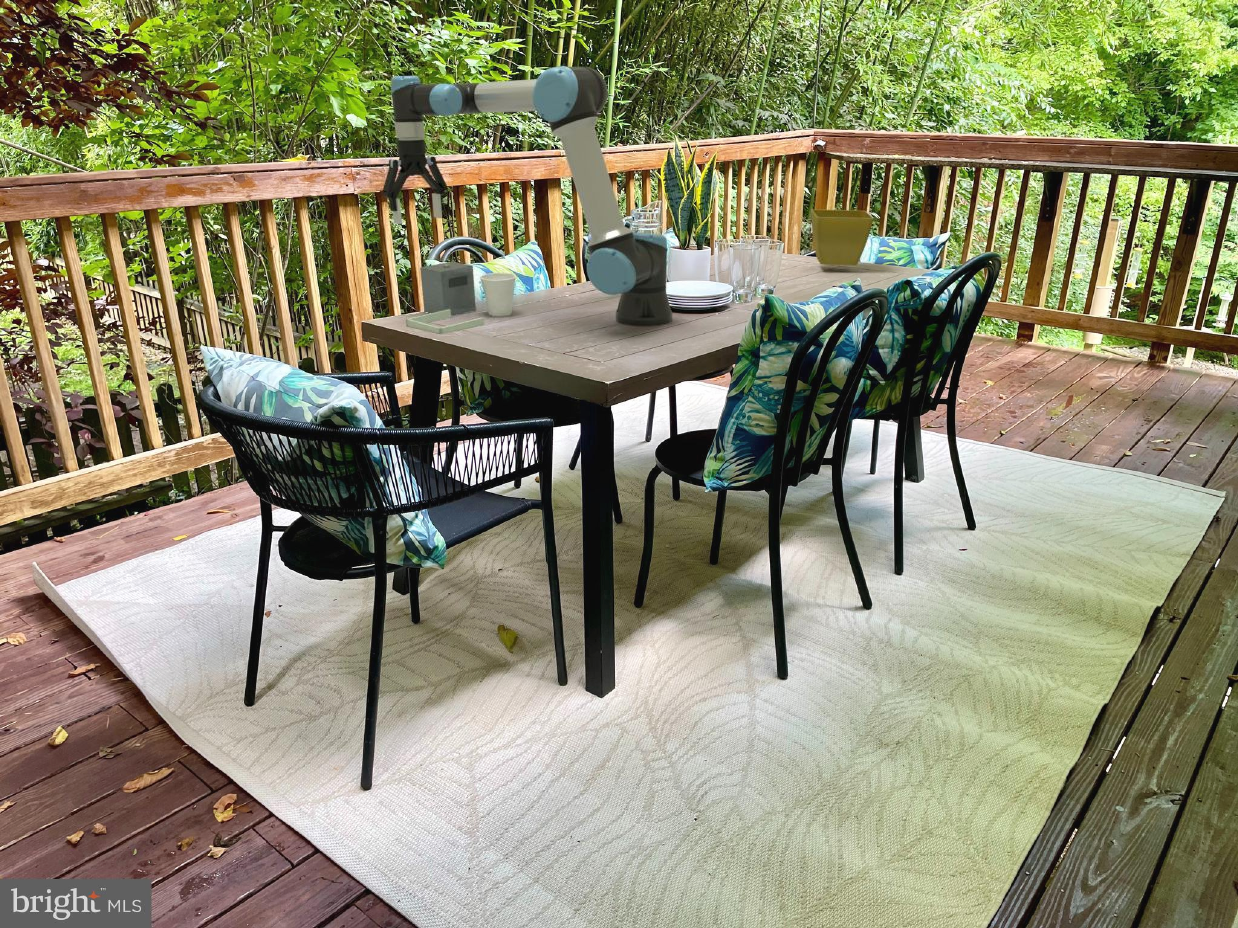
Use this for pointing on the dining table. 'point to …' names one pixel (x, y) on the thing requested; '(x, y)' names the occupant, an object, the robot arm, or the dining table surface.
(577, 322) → the dining table surface
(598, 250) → the robot arm
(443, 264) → the box
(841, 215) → the flower pot
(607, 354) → the dining table surface
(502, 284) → the cup
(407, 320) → the corral
